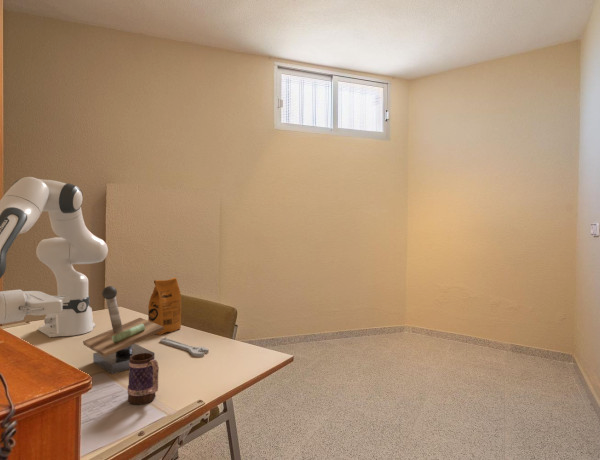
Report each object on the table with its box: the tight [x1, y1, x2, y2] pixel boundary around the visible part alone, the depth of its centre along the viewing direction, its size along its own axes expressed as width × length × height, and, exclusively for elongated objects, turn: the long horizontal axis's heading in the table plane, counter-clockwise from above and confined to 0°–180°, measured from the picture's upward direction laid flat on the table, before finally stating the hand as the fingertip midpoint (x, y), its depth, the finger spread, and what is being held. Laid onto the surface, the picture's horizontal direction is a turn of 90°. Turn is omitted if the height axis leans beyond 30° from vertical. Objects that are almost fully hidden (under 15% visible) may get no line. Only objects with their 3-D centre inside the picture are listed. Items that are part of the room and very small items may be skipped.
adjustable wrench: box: [159, 337, 209, 358], centre depth 148 cm, size 25×6×2 cm, turn 51°
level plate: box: [82, 285, 164, 357], centre depth 130 cm, size 16×20×17 cm
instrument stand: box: [92, 343, 155, 375], centre depth 132 cm, size 14×14×8 cm
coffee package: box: [147, 277, 182, 335], centre depth 167 cm, size 10×12×22 cm
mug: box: [127, 353, 160, 406], centre depth 105 cm, size 10×7×12 cm
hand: (68, 298), depth 122 cm, fingers closed
